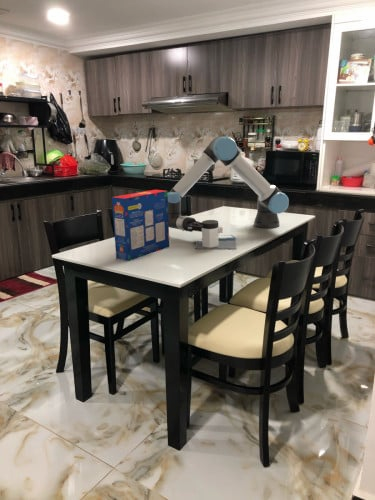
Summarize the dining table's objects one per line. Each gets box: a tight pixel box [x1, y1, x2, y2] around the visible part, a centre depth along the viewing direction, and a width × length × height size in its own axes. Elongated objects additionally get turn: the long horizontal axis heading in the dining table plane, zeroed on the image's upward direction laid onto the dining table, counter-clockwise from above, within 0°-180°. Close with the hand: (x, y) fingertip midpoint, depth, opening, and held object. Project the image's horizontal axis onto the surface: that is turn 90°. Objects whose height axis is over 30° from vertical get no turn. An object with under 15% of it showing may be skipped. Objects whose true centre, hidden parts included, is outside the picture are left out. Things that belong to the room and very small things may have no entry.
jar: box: [201, 219, 220, 248], centre depth 190 cm, size 9×8×12 cm
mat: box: [194, 240, 237, 250], centre depth 194 cm, size 20×14×1 cm
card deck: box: [219, 234, 237, 241], centre depth 205 cm, size 9×6×2 cm
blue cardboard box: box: [111, 189, 170, 262], centre depth 181 cm, size 28×8×28 cm, turn 142°
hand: (220, 230), depth 190 cm, fingers closed
